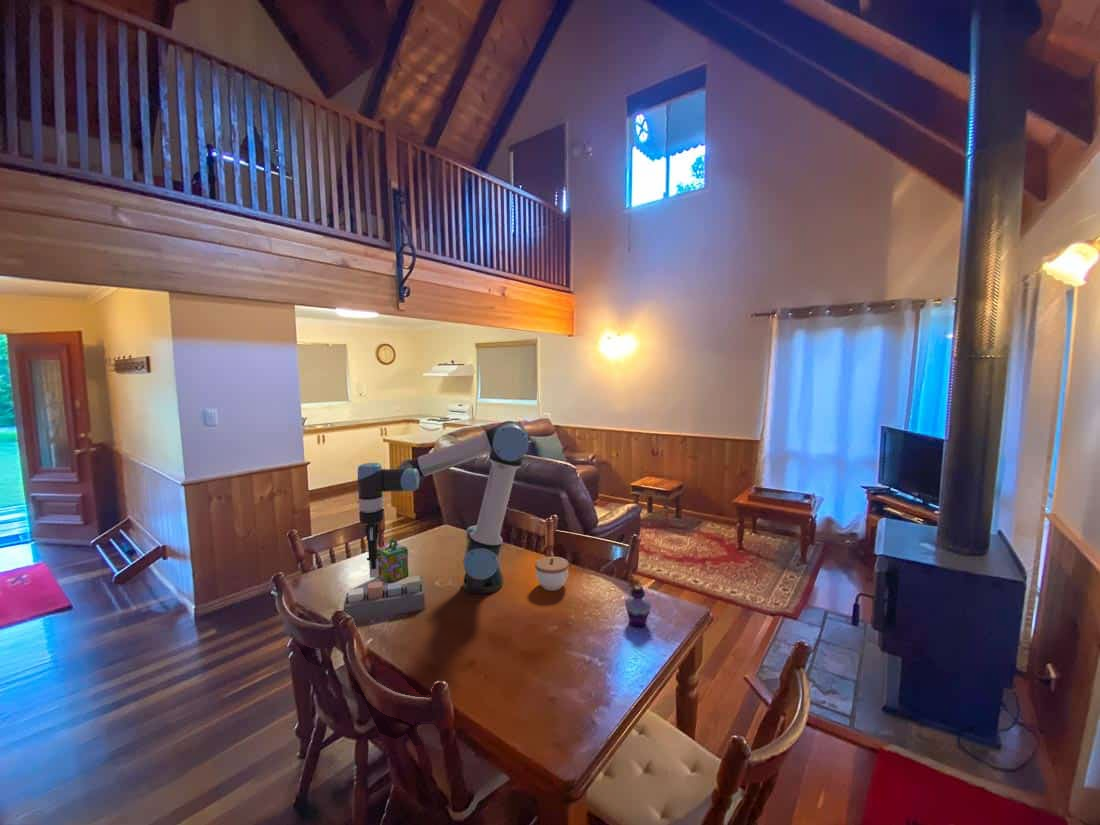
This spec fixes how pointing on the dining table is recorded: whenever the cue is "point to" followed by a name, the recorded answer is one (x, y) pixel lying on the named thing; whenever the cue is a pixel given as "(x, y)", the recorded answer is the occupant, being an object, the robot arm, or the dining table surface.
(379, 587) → the terracotta key
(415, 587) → the sage key
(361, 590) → the ivory key
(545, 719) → the dining table surface
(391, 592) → the slate key
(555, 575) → the lidded bowl
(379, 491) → the robot arm
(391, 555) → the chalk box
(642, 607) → the potion bottle
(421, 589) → the console
